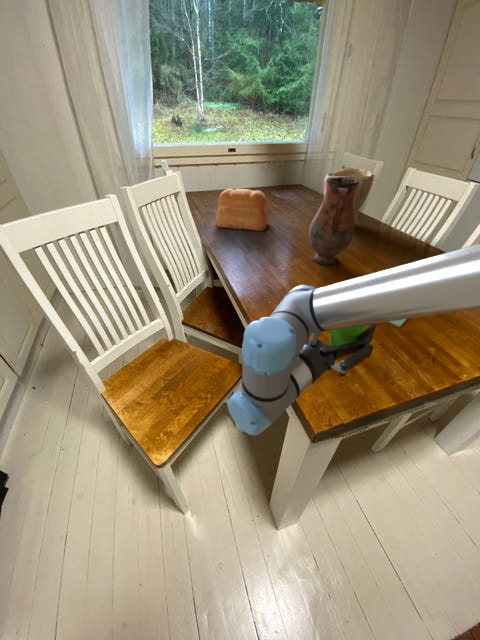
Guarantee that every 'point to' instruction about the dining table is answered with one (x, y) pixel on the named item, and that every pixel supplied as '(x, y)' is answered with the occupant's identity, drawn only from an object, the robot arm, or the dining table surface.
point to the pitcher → (333, 221)
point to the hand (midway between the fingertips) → (356, 319)
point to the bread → (242, 210)
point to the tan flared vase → (363, 186)
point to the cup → (346, 335)
